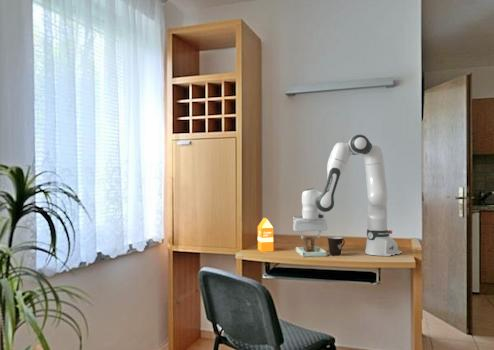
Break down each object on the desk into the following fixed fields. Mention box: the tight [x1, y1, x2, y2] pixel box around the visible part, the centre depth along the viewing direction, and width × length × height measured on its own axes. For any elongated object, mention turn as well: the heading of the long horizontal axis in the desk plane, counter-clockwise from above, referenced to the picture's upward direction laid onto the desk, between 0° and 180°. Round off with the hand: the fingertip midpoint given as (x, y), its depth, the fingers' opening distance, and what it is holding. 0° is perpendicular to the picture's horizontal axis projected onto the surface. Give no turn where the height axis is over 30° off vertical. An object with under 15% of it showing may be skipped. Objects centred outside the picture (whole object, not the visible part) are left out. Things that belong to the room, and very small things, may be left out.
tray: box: [295, 246, 328, 258], centre depth 251 cm, size 14×19×2 cm
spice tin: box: [303, 237, 316, 252], centre depth 255 cm, size 5×5×8 cm
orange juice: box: [257, 217, 274, 253], centre depth 262 cm, size 8×9×20 cm
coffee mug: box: [327, 236, 346, 257], centre depth 247 cm, size 12×9×10 cm
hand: (310, 238), depth 255 cm, fingers open, 8 cm apart
